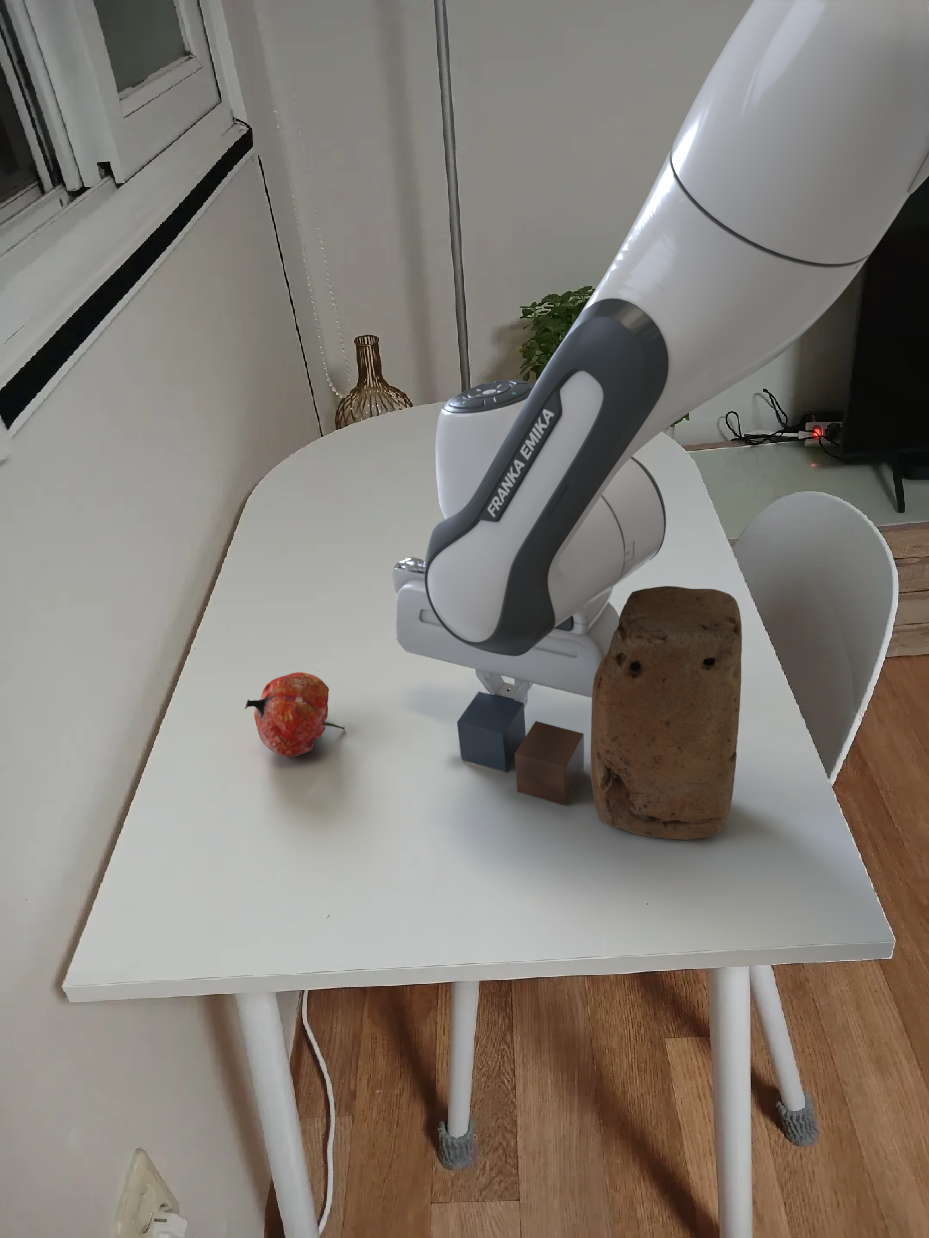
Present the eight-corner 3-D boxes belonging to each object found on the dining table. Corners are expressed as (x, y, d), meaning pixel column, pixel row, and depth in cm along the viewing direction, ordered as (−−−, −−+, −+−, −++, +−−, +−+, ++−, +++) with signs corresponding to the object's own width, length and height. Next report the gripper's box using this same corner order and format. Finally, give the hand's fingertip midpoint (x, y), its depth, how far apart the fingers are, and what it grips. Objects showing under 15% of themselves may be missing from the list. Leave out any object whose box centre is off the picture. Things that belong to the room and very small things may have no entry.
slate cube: (526, 739, 86) (524, 702, 83) (506, 772, 82) (503, 734, 80) (482, 727, 87) (478, 690, 85) (460, 759, 84) (456, 721, 82)
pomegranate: (324, 724, 93) (228, 694, 88) (361, 675, 89) (264, 641, 85) (328, 783, 87) (227, 755, 83) (369, 733, 84) (265, 700, 79)
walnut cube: (584, 771, 82) (584, 733, 79) (565, 806, 79) (564, 767, 76) (537, 757, 84) (535, 720, 81) (516, 791, 80) (514, 753, 78)
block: (722, 780, 80) (743, 580, 68) (730, 849, 74) (755, 643, 62) (592, 774, 81) (591, 579, 70) (589, 842, 75) (587, 640, 64)
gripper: (371, 573, 79) (391, 699, 87) (606, 623, 71) (604, 757, 79) (408, 535, 84) (424, 659, 92) (633, 579, 75) (628, 710, 84)
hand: (509, 705), depth 85 cm, fingers closed, pressing on slate cube
